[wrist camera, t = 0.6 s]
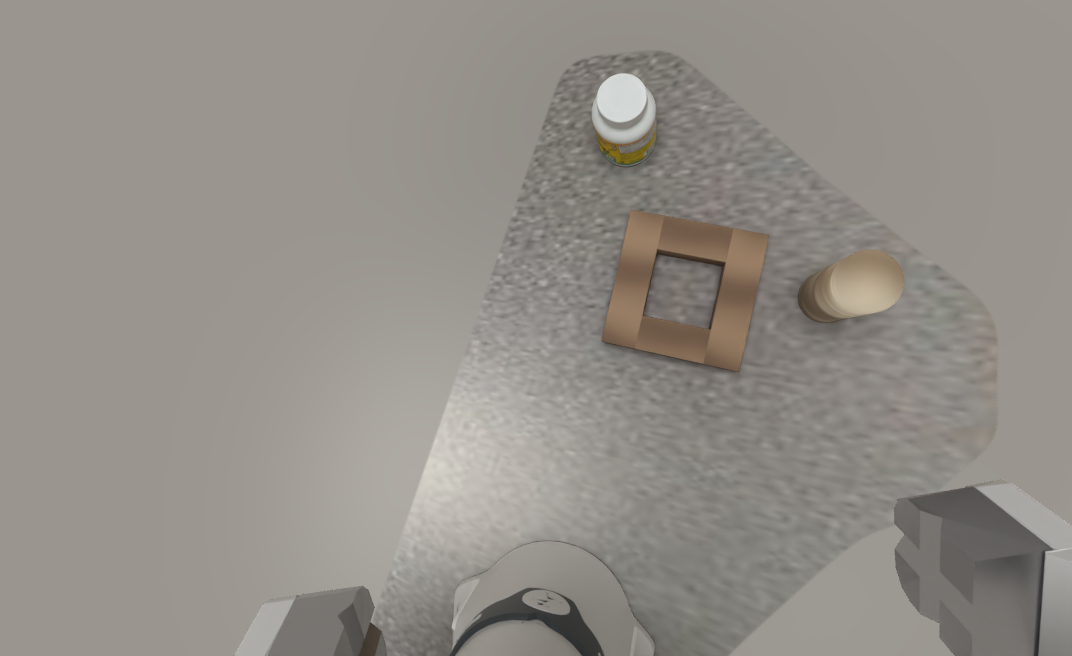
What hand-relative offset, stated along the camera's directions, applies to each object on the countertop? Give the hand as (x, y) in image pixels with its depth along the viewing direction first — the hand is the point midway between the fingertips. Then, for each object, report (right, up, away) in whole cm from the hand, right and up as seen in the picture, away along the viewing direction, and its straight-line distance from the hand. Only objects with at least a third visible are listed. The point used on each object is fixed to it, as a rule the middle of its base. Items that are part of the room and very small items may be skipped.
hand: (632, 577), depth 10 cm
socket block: (+12, +7, +48) cm, 50 cm away
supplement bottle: (+7, +22, +50) cm, 55 cm away
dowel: (+24, +7, +46) cm, 52 cm away
